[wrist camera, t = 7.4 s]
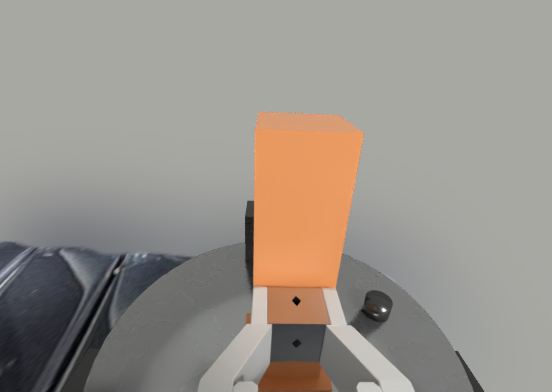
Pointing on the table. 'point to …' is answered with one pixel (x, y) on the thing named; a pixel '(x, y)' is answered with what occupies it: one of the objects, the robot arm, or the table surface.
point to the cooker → (232, 318)
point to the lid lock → (301, 216)
